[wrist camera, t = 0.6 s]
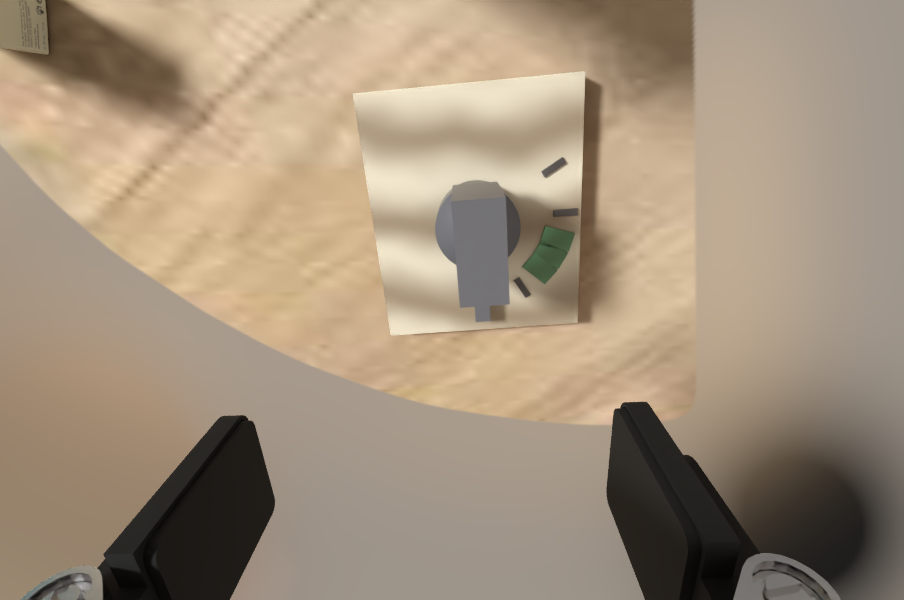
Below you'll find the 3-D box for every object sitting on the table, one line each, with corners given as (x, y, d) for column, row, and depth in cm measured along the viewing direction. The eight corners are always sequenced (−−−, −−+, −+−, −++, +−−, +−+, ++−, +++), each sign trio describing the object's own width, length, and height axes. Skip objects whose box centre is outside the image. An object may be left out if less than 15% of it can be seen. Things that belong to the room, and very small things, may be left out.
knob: (433, 180, 32) (423, 203, 24) (514, 173, 32) (533, 194, 24) (446, 317, 37) (442, 376, 28) (518, 312, 36) (535, 370, 28)
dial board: (358, 94, 32) (351, 93, 30) (577, 73, 31) (586, 70, 29) (394, 325, 39) (390, 336, 37) (572, 312, 39) (578, 323, 37)
